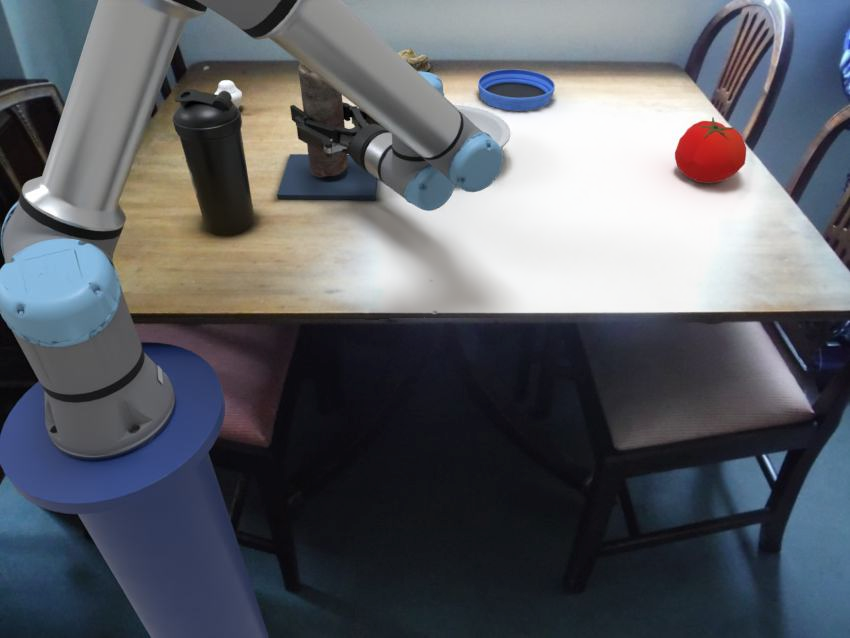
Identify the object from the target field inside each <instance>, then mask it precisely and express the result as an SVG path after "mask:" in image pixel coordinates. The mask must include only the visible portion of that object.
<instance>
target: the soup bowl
mask: <svg viewBox="0 0 850 638" xmlns="http://www.w3.org/2000/svg"><path fill="white" fill-rule="evenodd" d="M453 105H454V106H455V107H456V108H457V110H459V111H460V112H461V113H462V114H464V115H465V116H466V117H467V118H468V119H469V120H470V121H471V122H472V123H473V124H474V125H475V126H477V127H478V128H479V129H480V130H481V131H483V132H485V133H487V134H489V135H490V136H491V138H492V139H493V140H494V141H495V142H497V143H498V144H499V146H500V147H501V149H502V148H503V147H505V146H506V145H507V144H508V142H509V141H510V137H511V128H510V126H509V125H508V123H507V122H506V121H505V120H504V119H503V118H501V117H500V116H498V115H497V114H495V113H493V112H490V111H488V110H484V109H481V108H478V107H475V106H474V107H473V106H468V105H460V104H453Z"/></svg>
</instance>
